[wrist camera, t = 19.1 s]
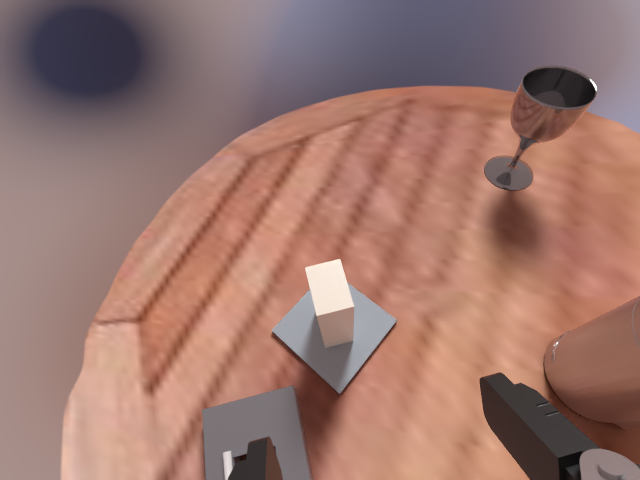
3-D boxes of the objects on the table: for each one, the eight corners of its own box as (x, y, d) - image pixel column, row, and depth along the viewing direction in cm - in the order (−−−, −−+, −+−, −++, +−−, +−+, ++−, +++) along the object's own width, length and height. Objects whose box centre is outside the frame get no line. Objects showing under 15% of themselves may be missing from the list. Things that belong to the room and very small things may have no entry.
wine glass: (544, 189, 51) (610, 103, 38) (490, 195, 51) (538, 111, 38) (524, 151, 55) (578, 62, 42) (474, 156, 55) (512, 69, 42)
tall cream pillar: (353, 340, 41) (354, 306, 31) (325, 348, 41) (316, 316, 30) (342, 302, 43) (340, 259, 33) (315, 309, 43) (305, 267, 33)
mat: (396, 321, 42) (397, 320, 42) (339, 394, 38) (339, 393, 38) (329, 270, 46) (329, 268, 46) (272, 331, 43) (271, 330, 42)
